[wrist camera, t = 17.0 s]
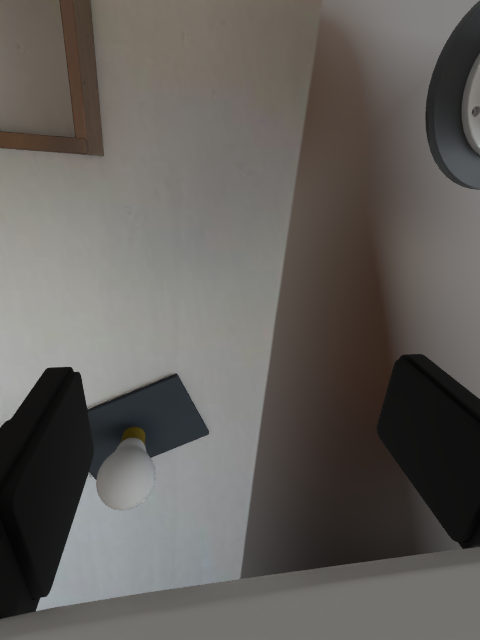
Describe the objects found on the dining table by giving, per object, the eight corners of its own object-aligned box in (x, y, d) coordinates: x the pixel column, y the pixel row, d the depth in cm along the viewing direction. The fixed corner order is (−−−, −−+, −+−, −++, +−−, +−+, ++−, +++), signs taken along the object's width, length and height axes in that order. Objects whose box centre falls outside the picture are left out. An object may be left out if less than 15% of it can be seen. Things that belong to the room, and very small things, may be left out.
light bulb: (152, 406, 40) (145, 475, 31) (164, 442, 43) (159, 515, 34) (103, 417, 40) (81, 490, 31) (117, 452, 42) (101, 529, 33)
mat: (176, 373, 40) (176, 376, 39) (208, 431, 44) (209, 434, 43) (52, 423, 40) (51, 427, 39) (97, 476, 44) (95, 480, 43)
